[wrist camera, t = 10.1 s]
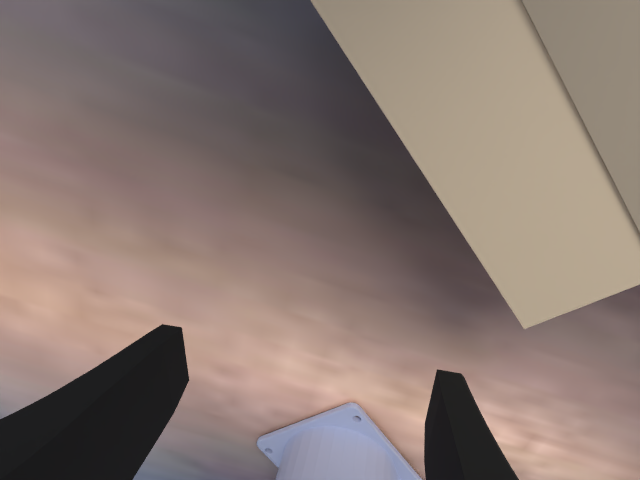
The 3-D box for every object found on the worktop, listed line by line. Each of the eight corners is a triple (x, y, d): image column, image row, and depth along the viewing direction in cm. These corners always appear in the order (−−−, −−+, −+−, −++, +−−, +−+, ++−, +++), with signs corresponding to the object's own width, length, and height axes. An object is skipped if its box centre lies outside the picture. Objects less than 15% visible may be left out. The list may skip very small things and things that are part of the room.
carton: (762, 115, 15) (956, 165, 10) (493, 245, 19) (525, 331, 14) (626, -247, 12) (803, -471, 6) (338, 1, 16) (302, -11, 11)
